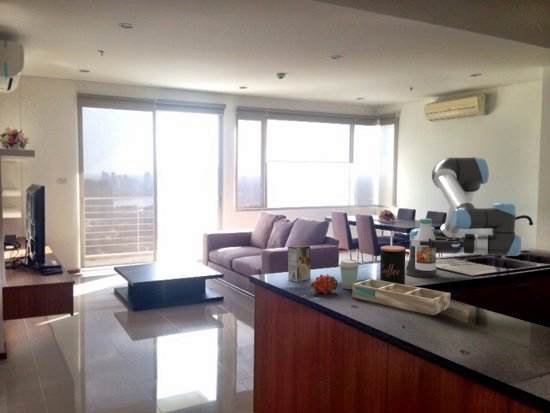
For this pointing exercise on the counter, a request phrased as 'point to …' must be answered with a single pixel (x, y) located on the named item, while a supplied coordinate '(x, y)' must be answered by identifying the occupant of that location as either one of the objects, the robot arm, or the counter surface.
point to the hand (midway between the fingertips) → (412, 240)
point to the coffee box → (299, 263)
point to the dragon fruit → (324, 284)
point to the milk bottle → (425, 248)
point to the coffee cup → (349, 273)
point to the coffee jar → (392, 264)
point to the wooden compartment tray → (402, 296)
